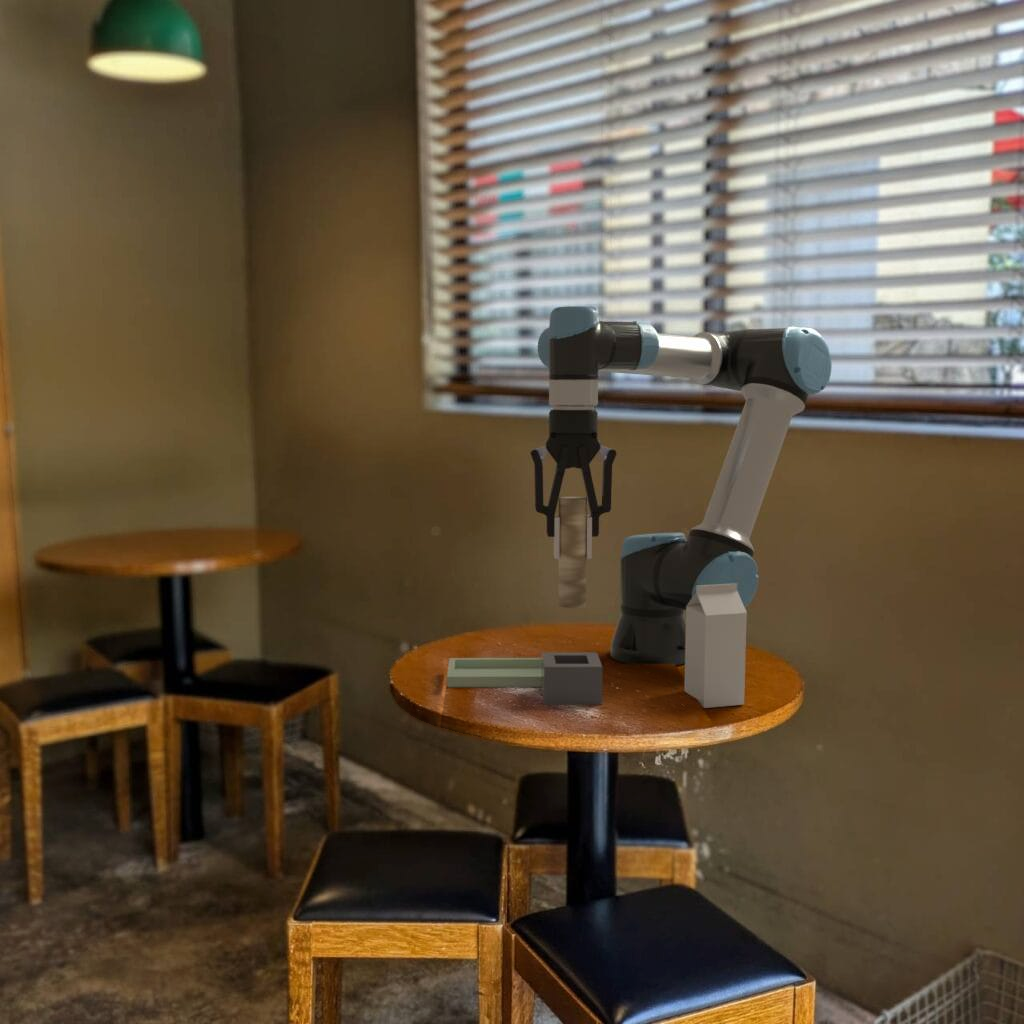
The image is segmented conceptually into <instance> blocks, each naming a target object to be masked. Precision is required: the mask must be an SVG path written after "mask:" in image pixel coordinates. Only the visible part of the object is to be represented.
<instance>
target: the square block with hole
mask: <svg viewBox="0 0 1024 1024" xmlns="http://www.w3.org/2000/svg"><path fill="white" fill-rule="evenodd" d="M541 658H542V687H541V692H542V693H541V694H542V699H543V700H542V701H543V705H544V706H549V705H550V706H591V705H593V706H599V705H600V706H602V705H603V665H602V662H601V660H600V657H599V654H598V652H597V651H595V652H594V651H593V652H588V651H587V652H583V651H582V652H577V651H576V652H574V651H573V652H570V651H569V652H568V651H567V652H566V651H565V652H564V651H563V652H561V651H560V652H543V651H542V652H541Z"/></svg>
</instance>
